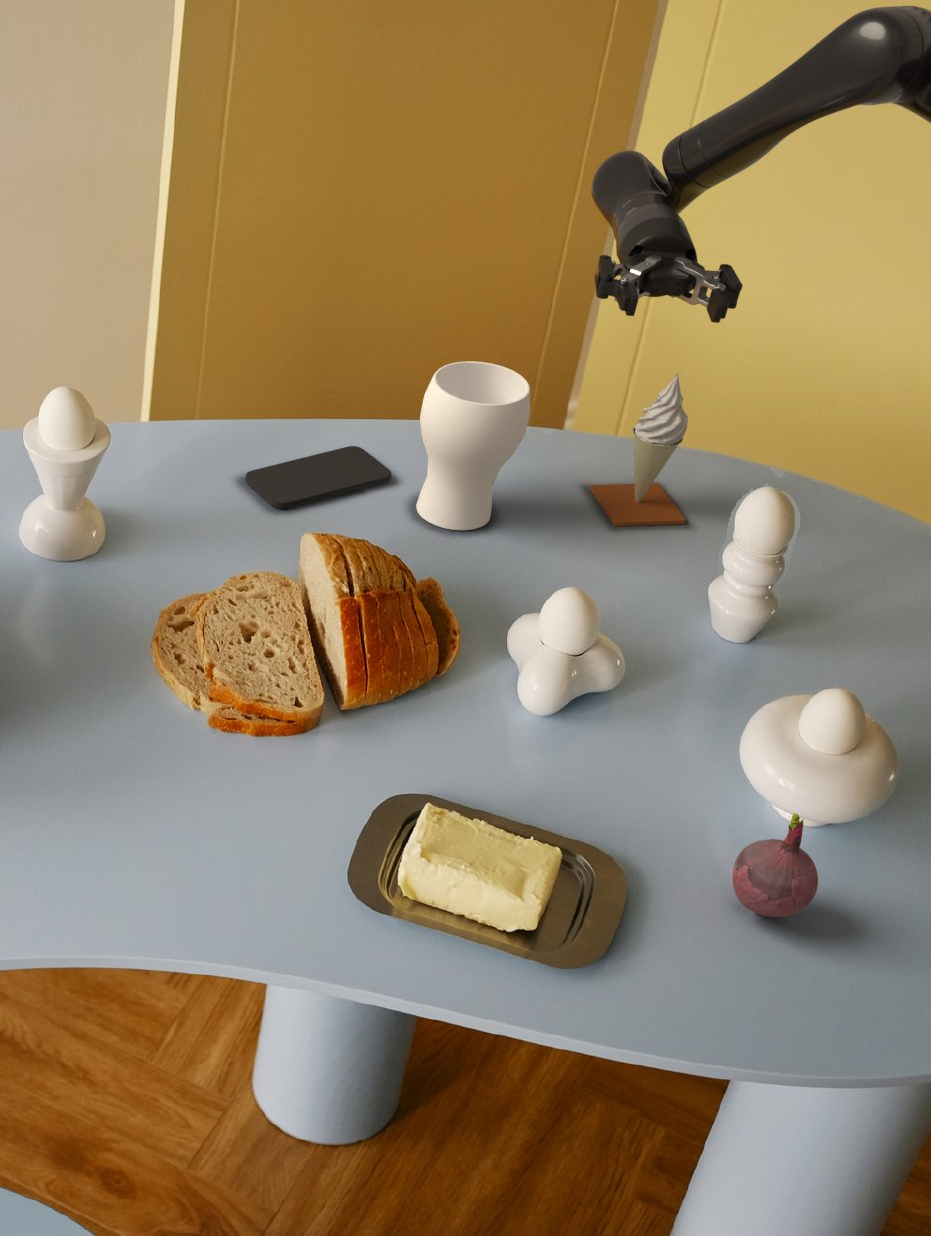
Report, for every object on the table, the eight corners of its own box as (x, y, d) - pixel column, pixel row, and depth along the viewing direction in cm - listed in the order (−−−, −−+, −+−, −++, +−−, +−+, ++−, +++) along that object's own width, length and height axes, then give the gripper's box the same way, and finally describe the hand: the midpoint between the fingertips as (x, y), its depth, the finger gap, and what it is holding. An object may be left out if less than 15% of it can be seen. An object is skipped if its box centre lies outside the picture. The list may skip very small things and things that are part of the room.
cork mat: (657, 487, 179) (658, 483, 179) (685, 524, 173) (686, 520, 173) (589, 489, 178) (590, 485, 178) (614, 526, 173) (616, 522, 172)
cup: (402, 533, 171) (428, 402, 162) (401, 481, 179) (426, 354, 170) (507, 543, 170) (539, 412, 160) (501, 491, 178) (532, 363, 168)
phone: (241, 472, 179) (357, 443, 184) (240, 479, 179) (355, 450, 184) (278, 505, 174) (396, 474, 178) (277, 512, 174) (395, 481, 179)
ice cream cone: (655, 519, 173) (696, 389, 163) (607, 505, 175) (644, 376, 165) (667, 498, 176) (708, 369, 167) (620, 484, 178) (657, 357, 169)
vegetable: (800, 896, 130) (843, 802, 124) (800, 950, 126) (845, 855, 120) (720, 877, 132) (758, 783, 126) (716, 928, 128) (756, 834, 121)
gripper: (596, 211, 181) (613, 271, 168) (731, 221, 179) (758, 281, 167) (580, 276, 186) (595, 339, 173) (711, 286, 184) (737, 350, 171)
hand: (675, 311), depth 170 cm, fingers open, 8 cm apart
